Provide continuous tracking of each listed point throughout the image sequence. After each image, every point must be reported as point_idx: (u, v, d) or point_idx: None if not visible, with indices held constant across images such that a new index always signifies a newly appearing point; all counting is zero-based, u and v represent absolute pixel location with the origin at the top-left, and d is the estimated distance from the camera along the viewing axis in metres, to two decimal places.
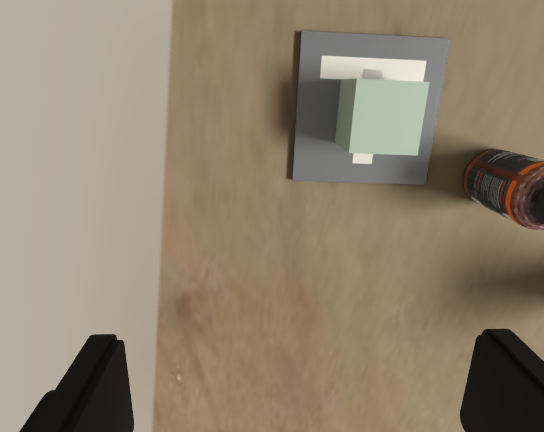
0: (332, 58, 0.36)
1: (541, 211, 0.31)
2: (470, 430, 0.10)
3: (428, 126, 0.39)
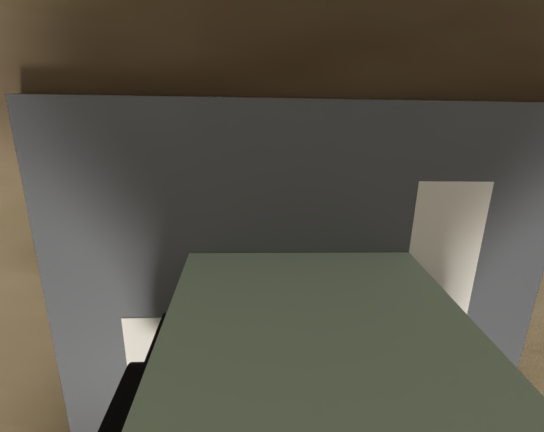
0: (479, 218, 0.10)
1: None
2: None
3: None
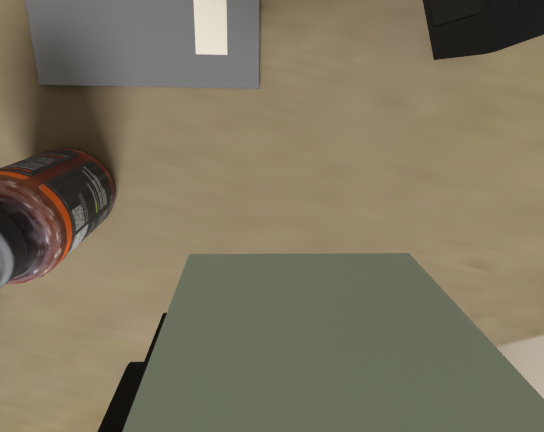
0: None
1: None
2: None
3: (132, 74, 0.25)
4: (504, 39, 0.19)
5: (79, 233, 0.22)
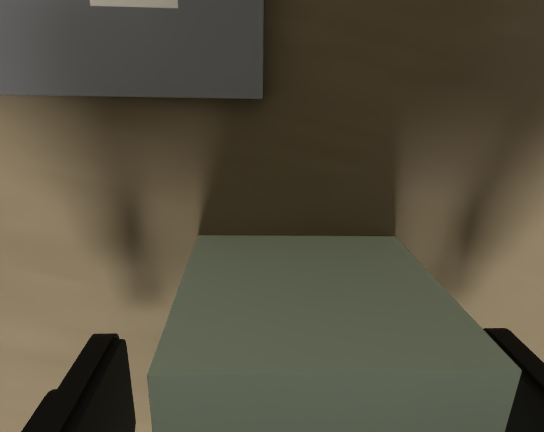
0: None
1: None
2: None
3: None
4: None
5: None
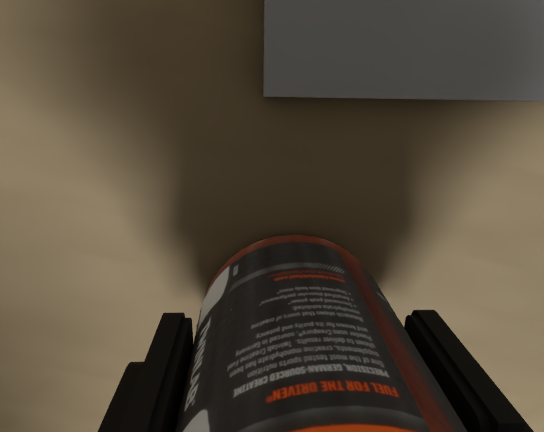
0: None
1: None
2: None
3: (481, 72, 0.11)
4: None
5: None
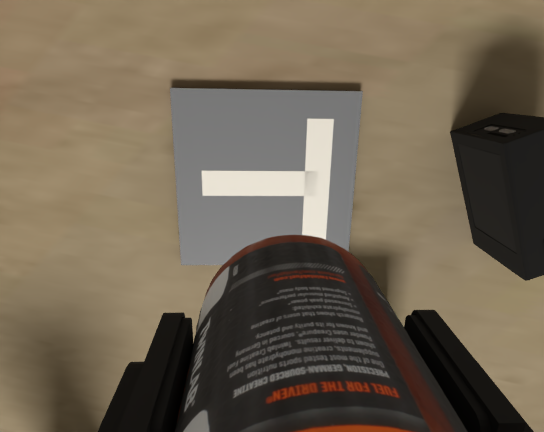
0: (330, 132, 0.29)
1: None
2: None
3: None
4: (533, 273, 0.27)
5: None
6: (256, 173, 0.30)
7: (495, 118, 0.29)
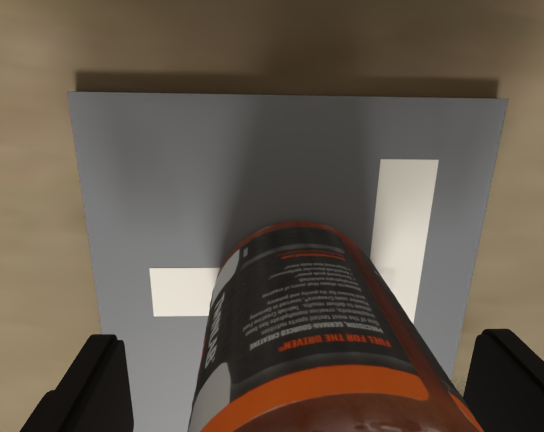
0: (428, 189, 0.13)
1: None
2: None
3: None
4: None
5: None
6: None
7: None
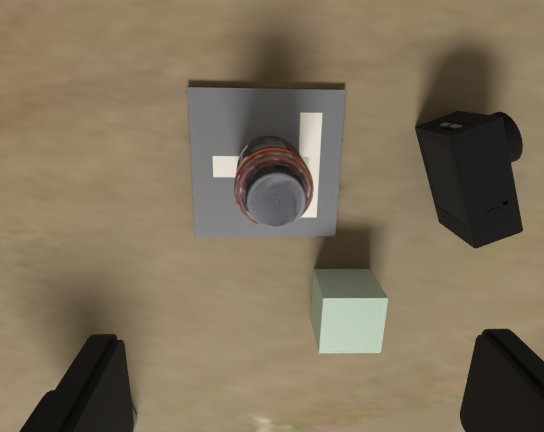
0: (319, 124, 0.35)
1: (267, 171, 0.26)
2: (470, 430, 0.10)
3: (255, 229, 0.38)
4: (481, 242, 0.33)
5: None
6: None
7: (451, 115, 0.35)
